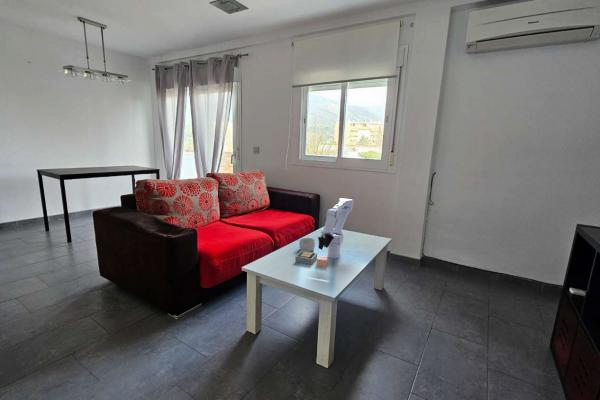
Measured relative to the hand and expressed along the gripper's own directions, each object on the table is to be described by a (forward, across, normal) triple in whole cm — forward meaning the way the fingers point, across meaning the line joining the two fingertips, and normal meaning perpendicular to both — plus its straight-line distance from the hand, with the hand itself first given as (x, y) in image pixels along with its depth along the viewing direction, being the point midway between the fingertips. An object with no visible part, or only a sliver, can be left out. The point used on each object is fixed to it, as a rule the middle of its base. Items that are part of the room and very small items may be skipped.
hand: (322, 248), depth 164 cm
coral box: (+8, -9, +6) cm, 13 cm away
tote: (+7, -17, -2) cm, 18 cm away
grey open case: (-4, -33, +2) cm, 33 cm away
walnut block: (+7, -16, -2) cm, 18 cm away
